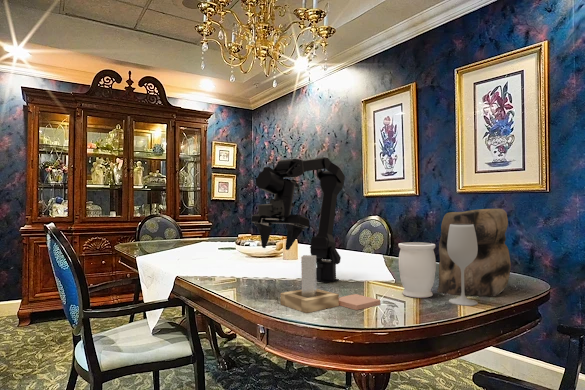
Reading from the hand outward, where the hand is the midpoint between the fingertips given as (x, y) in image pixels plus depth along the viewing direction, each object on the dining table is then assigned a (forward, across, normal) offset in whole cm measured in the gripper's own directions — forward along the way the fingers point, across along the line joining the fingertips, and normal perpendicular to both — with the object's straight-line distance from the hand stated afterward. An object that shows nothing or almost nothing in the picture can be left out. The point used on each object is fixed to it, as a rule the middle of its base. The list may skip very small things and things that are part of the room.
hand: (275, 248), depth 118 cm
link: (+14, +15, 0) cm, 21 cm away
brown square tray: (+14, +15, 0) cm, 21 cm away
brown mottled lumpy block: (+2, +45, +44) cm, 63 cm away
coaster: (+12, +24, +8) cm, 28 cm away
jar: (+7, +34, +28) cm, 44 cm away
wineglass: (+7, +47, +26) cm, 54 cm away
